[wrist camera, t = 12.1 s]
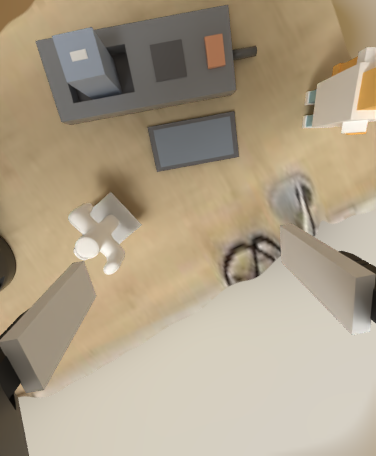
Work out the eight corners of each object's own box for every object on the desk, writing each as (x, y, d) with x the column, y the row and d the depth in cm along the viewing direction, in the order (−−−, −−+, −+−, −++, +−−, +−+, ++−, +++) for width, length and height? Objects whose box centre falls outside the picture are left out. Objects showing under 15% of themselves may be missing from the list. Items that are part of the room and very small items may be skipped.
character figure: (325, 67, 35) (464, -13, 18) (351, 125, 38) (493, 102, 21) (282, 100, 37) (376, 53, 20) (311, 154, 40) (415, 155, 22)
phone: (157, 171, 39) (156, 171, 38) (148, 127, 37) (147, 127, 36) (237, 156, 39) (238, 156, 38) (233, 112, 37) (234, 111, 36)
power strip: (70, 124, 36) (59, 121, 33) (47, 50, 33) (32, 38, 30) (256, 90, 36) (264, 83, 33) (250, 12, 33) (259, -4, 29)
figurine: (111, 183, 39) (75, 200, 25) (148, 223, 42) (134, 259, 28) (82, 209, 40) (32, 239, 26) (120, 246, 43) (92, 292, 29)
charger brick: (93, 100, 35) (66, 82, 26) (83, 66, 33) (51, 35, 25) (122, 93, 35) (104, 73, 26) (113, 59, 33) (91, 26, 25)
